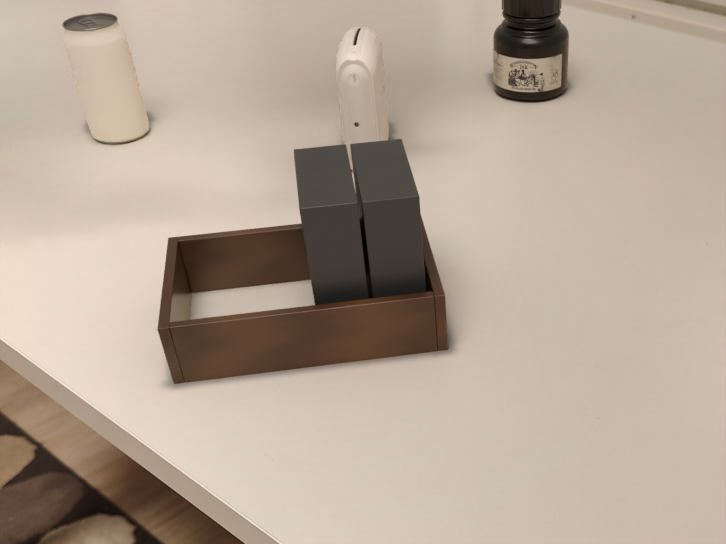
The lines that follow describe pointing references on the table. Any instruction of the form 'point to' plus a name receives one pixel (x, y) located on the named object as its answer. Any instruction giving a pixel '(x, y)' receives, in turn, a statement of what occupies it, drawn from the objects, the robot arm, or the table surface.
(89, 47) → the can
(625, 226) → the table surface
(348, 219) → the charcoal box
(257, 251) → the brown wooden tray
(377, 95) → the photo printer
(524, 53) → the ink bottle
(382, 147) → the charcoal box
